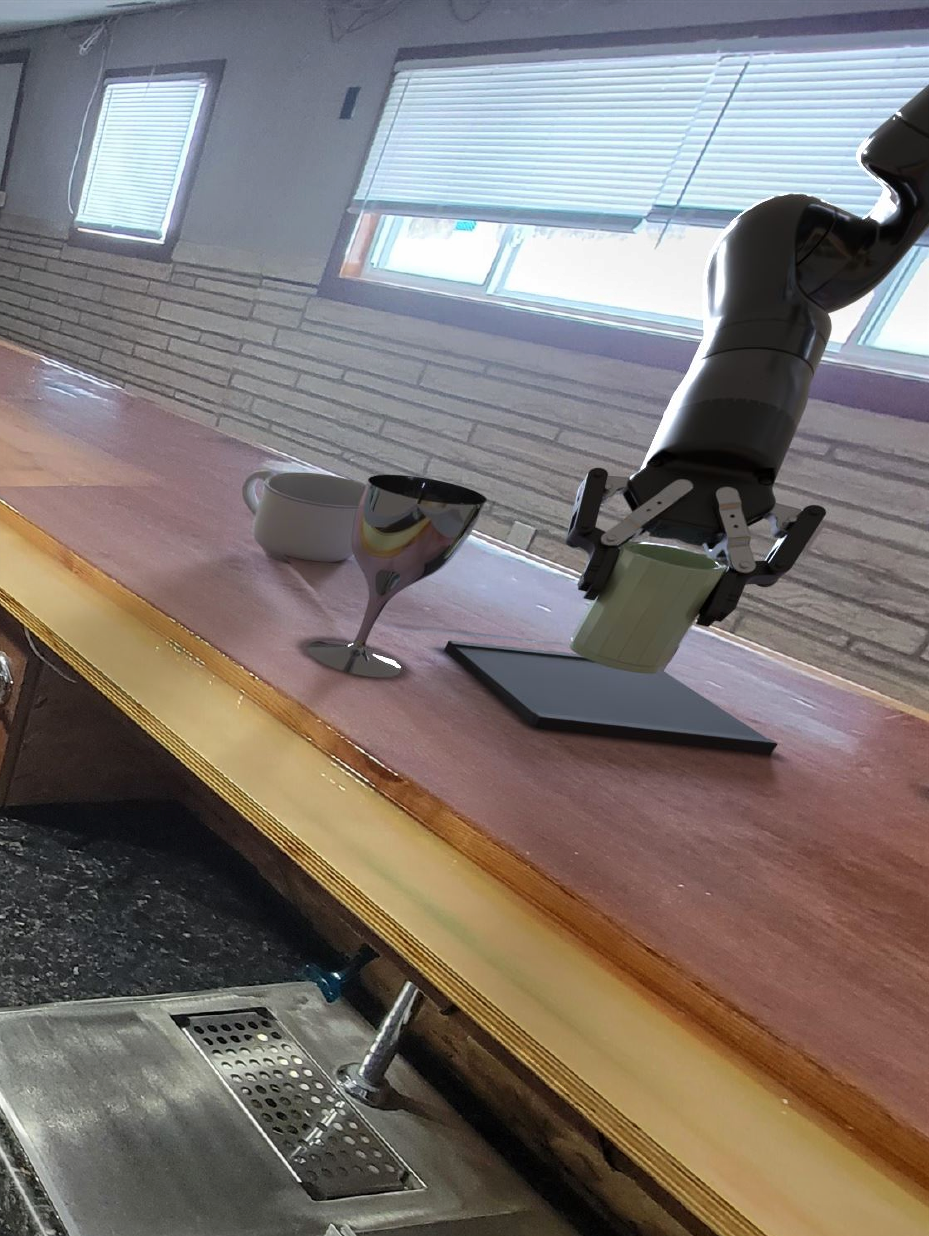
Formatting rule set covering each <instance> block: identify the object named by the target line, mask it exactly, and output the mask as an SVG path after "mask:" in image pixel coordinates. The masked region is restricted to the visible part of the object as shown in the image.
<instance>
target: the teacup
mask: <svg viewBox="0 0 929 1236" xmlns="http://www.w3.org/2000/svg"><path fill="white" fill-rule="evenodd" d="M259 480H262V481H263V489H262V492H261V496H260V499H258V497H257V495H256V491H255V490H256V485H257V483H258V482H259ZM365 485H366V483H362V482H359V481H356V480H353V479H349V478H345V477H341V476H336V475H330V474H324V473H317V472H316V473H313V472H282V473H276V474H275V473H274V472H272V471H270V470H267V469H261V470H257V471H253V472H251V473H250V474H249V475H248V476H247V477H246V478H245V479H244V482H243V484H242V487H241V494H242V499H243V502H244V503H245V505H246V507H247V508H248V510H249V511H250V512H251V514H252V515H253V516H254V518H253V524H252V535H253V539H254V540H255V542H256V543H257V544H258V546H260V547H261V548H262V551H263V552H264V553H265V554H266V555H267V556H268V557H270V558H272V559H274V560H276V561H279V562H282V563H286V564H288V565H292V563H291V562H290V561H289V560H288V558H287V557H289V558H295V559H299V560H304V561H312V562H322V563H324V562H325V563H333V562H342V561H344V560H347V559H349V558H350V557H353V556H354V554H353V550H352V547H351V537H352V529H353V523H354V519H355V514H356V509H357V507H358V504H359V501H360V498H361V495H362V492H363V490H364V487H365Z"/></svg>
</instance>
